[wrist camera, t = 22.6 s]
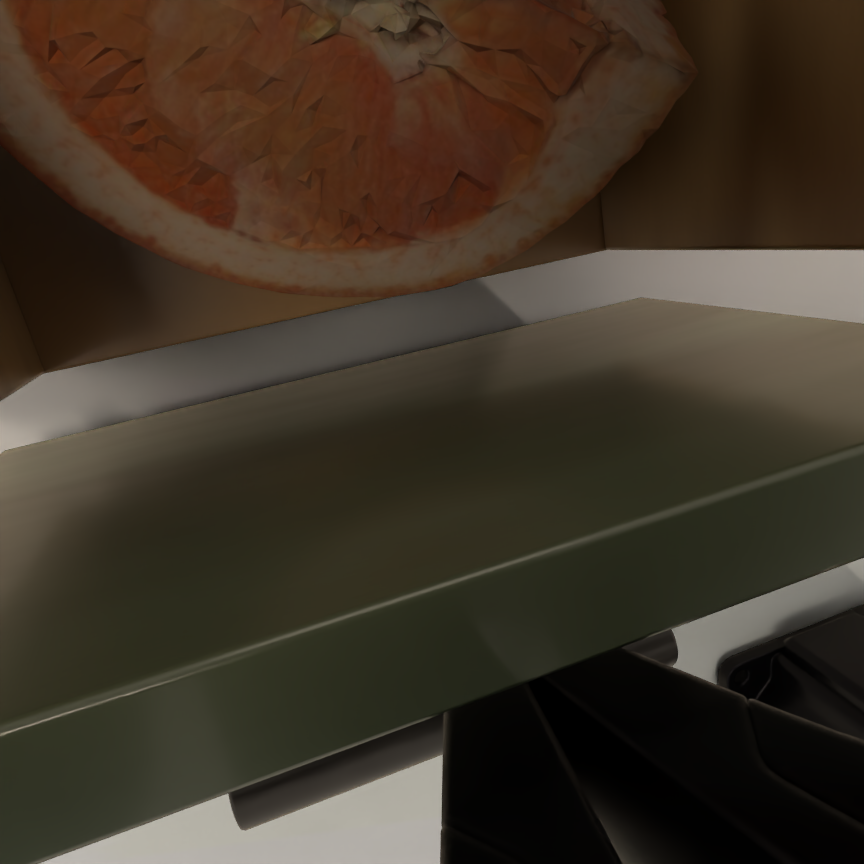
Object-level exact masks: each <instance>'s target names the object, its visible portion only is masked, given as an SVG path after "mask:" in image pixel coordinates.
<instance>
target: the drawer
mask: <svg viewBox="0 0 864 864" xmlns="http://www.w3.org/2000/svg"><path fill="white" fill-rule="evenodd" d="M661 2H662V4H663V6H664V7H665V9H666V11H667V13H666V14H665V16H664V18H665V19H667V20H668V21H669V22H670V23H671V25H672V26H673V27H674V29H675V30H676V33H677V37H678V39H679V41H680V42H681V44H682V46H683V47H684V48H685V50H686V51H687V52H688V53H689V55H690V56H691V57H692V59H693V62H694V64H695V67H696V69H697V71H698V74H697V76H696V77H695V78H694V80H693V81H692V83H691V84H690V85H689V87H688V88H687V90H686V91H685V92H684V93H683V94H682V95H681V96H680V97H679V98H678V99H677V100H676V101H675V103H674V105H673V106H672V108H671V109H670V111H669V113H668V114H667V116H666V117H665V119H664V121H663V122H662V124H661V126H660V127H659V129H658V130H657V131H655V132H654V133H653V134H652V135H651V136H650V137H649V138H648V139H647V140H646V141H645V143H644V144H643V146H642V147H641V149H640V151H639V152H638V153H637V154H635V155H634V156H633V157H632V158H631V159H629V160H628V161H627V162H626V163H625V164H623V165H622V166H621V167H620V168H619V169H618V170H617V172H616V173H615V174H614V176H613V177H612V178H611V180H610V181H609V182H608V183H607V185H606V186H605V187H604V188H603V189H602V190H601V191H600V192H599V193H598V194H597V195H596V196H595V197H594V198H592V199H591V200H590V201H589V202H587V203H586V204H585V205H583V206H582V207H581V208H580V209H579V210H578V211H577V212H576V213H575V214H574V215H573V216H571V217H570V218H569V219H568V220H567V221H566V222H565V223H563V224H562V225H560V226H559V227H557V228H556V229H554V230H553V231H551V232H550V233H548V234H547V235H545V236H544V237H543V238H542V239H541V240H540V241H538V242H537V243H536V244H534V245H533V246H532V247H530V248H529V249H527V250H526V251H524V252H523V253H521V254H519V255H517V256H516V257H514V258H512V259H510V260H508V261H506V262H504V263H502V264H500V265H498V266H496V267H494V268H493V269H491V270H490V271H488V272H487V273H485V274H484V275H482V276H479V277H476V278H473V279H477V278H481V277H486V276H490V275H495V274H499V273H504V272H509V271H513V270H518V269H522V268H527V267H531V266H536V265H540V264H545V263H550V262H554V261H559V260H563V259H568V258H572V257H577V256H581V255H586V254H591V253H595V252H600V251H604V250H864V0H661ZM470 280H472V279H470ZM467 281H468V280H467ZM392 297H395V296H392ZM386 298H390V297H322V296H310V295H299V294H288V293H279V292H275V291H270V290H265V289H260V288H256V287H251V286H246V285H241V284H237V283H233V282H230V281H226V280H223V279H219V278H216V277H213V276H210V275H207V274H203V273H200V272H197V271H194V270H191V269H188V268H185V267H182V266H180V265H178V264H175V263H173V262H171V261H169V260H166V259H164V258H163V257H161V256H159V255H157V254H155V253H153V252H152V251H150V250H148V249H146V248H144V247H142V246H140V245H138V244H136V243H134V242H132V241H130V240H128V239H126V238H124V237H122V236H119V235H117V234H116V233H114V232H112V231H111V230H109V229H107V228H106V227H104V226H103V225H101V224H99V223H98V222H96V221H94V220H93V219H91V218H90V217H88V216H86V215H85V214H83V213H82V212H80V211H78V210H77V209H75V208H74V207H72V206H71V205H70V204H68V203H67V202H66V201H65V200H64V199H62V198H61V197H60V196H59V195H58V194H56V193H55V192H54V191H53V190H52V189H50V188H49V187H48V186H47V185H46V184H44V183H43V182H42V181H41V180H40V179H38V178H37V177H36V176H35V175H34V174H32V173H31V172H30V171H29V170H28V169H27V168H25V167H24V166H23V165H22V164H21V163H19V162H18V161H17V160H16V159H15V158H14V157H13V156H12V155H11V154H10V153H8V152H7V151H6V150H5V149H4V148H3V147H2V146H1V145H0V401H1V400H3V399H4V398H6V397H7V396H9V395H11V394H12V393H14V392H15V391H17V390H18V389H20V388H21V387H23V386H25V385H26V384H28V383H29V382H31V381H32V380H34V379H36V378H37V377H39V376H40V375H42V374H44V373H49V372H53V371H58V370H62V369H67V368H72V367H76V366H81V365H85V364H90V363H94V362H99V361H103V360H108V359H113V358H117V357H122V356H126V355H131V354H135V353H140V352H144V351H149V350H154V349H158V348H163V347H167V346H172V345H176V344H181V343H185V342H190V341H194V340H199V339H204V338H208V337H213V336H217V335H222V334H226V333H231V332H235V331H240V330H245V329H249V328H254V327H258V326H263V325H267V324H272V323H276V322H281V321H286V320H290V319H295V318H299V317H304V316H308V315H313V314H317V313H322V312H327V311H331V310H336V309H340V308H345V307H349V306H354V305H358V304H363V303H367V302H372V301H377V300H381V299H386ZM861 558H864V324H862V323H854V322H845V321H837V320H828V319H820V318H811V317H803V316H794V315H786V314H777V313H769V312H760V311H752V310H743V309H735V308H726V307H718V306H709V305H701V304H692V303H684V302H675V301H667V300H658V299H650V298H637V299H633V300H629V301H625V302H620V303H616V304H612V305H608V306H604V307H600V308H595V309H591V310H587V311H583V312H579V313H575V314H571V315H566V316H562V317H558V318H554V319H550V320H546V321H541V322H537V323H533V324H529V325H525V326H521V327H517V328H512V329H508V330H504V331H500V332H496V333H492V334H487V335H483V336H479V337H475V338H471V339H467V340H463V341H458V342H454V343H450V344H446V345H442V346H438V347H433V348H429V349H425V350H421V351H417V352H413V353H408V354H404V355H400V356H396V357H392V358H388V359H384V360H379V361H375V362H371V363H367V364H363V365H359V366H354V367H350V368H346V369H342V370H338V371H334V372H330V373H325V374H321V375H317V376H313V377H309V378H305V379H300V380H296V381H292V382H288V383H284V384H280V385H275V386H271V387H267V388H263V389H259V390H255V391H251V392H246V393H242V394H238V395H234V396H230V397H226V398H221V399H217V400H213V401H209V402H205V403H201V404H197V405H192V406H188V407H184V408H180V409H176V410H172V411H167V412H163V413H159V414H155V415H151V416H147V417H142V418H138V419H134V420H130V421H126V422H122V423H118V424H113V425H109V426H105V427H101V428H97V429H93V430H88V431H84V432H80V433H76V434H72V435H68V436H64V437H59V438H55V439H51V440H47V441H43V442H39V443H34V444H30V445H26V446H22V447H18V448H14V449H9V450H5V451H4V452H2V453H1V454H0V864H39V863H41V862H44V861H47V860H49V859H52V858H55V857H57V856H60V855H63V854H65V853H68V852H71V851H74V850H76V849H79V848H82V847H84V846H87V845H90V844H92V843H95V842H98V841H101V840H103V839H106V838H109V837H111V836H114V835H117V834H119V833H122V832H125V831H128V830H130V829H133V828H136V827H138V826H141V825H144V824H146V823H149V822H152V821H154V820H157V819H160V818H163V817H165V816H168V815H171V814H173V813H176V812H179V811H181V810H184V809H187V808H190V807H192V806H195V805H198V804H200V803H203V802H206V801H208V800H211V799H214V798H216V797H219V796H222V795H225V794H227V793H228V794H229V799H230V803H231V807H232V811H233V814H234V817H235V820H236V822H237V824H238V826H239V827H240V829H241V830H248V829H250V828H253V827H256V826H258V825H261V824H263V823H266V822H269V821H271V820H274V819H276V818H279V817H282V816H284V815H287V814H289V813H292V812H295V811H297V810H300V809H302V808H305V807H308V806H310V805H313V804H315V803H318V802H320V801H323V800H326V799H328V798H331V797H333V796H336V795H339V794H341V793H344V792H346V791H349V790H352V789H354V788H357V787H359V786H362V785H365V784H367V783H370V782H372V781H375V780H378V779H380V778H383V777H385V776H388V775H391V774H393V773H396V772H398V771H401V770H404V769H406V768H409V767H411V766H414V765H417V764H419V763H422V762H424V761H427V760H430V759H432V758H435V757H437V756H440V755H443V727H444V713H446V712H448V711H451V710H454V709H457V708H459V707H462V706H465V705H467V704H470V703H473V702H475V701H478V700H481V699H483V698H486V697H489V696H492V695H494V694H497V693H500V692H502V691H505V690H508V689H510V688H513V687H516V686H519V685H521V684H524V683H527V682H529V681H532V680H535V679H537V678H540V677H543V676H546V675H548V674H551V673H554V672H556V671H559V670H562V669H564V668H567V667H570V666H572V665H575V664H578V663H581V662H583V661H586V660H589V659H591V658H594V657H597V656H599V655H602V654H605V653H608V652H610V651H613V650H616V649H618V648H621V647H623V648H625V649H628V650H630V651H633V652H635V653H638V654H640V655H643V656H645V657H648V658H651V659H653V660H656V661H658V662H661V663H663V664H666V665H668V666H673V665H674V664H675V663H676V661H677V658H678V649H677V644H676V640H675V637H674V634H673V632H672V630H671V629H672V628H675V627H678V626H680V625H683V624H686V623H688V622H691V621H694V620H697V619H699V618H702V617H705V616H707V615H710V614H713V613H715V612H718V611H721V610H724V609H726V608H729V607H732V606H734V605H737V604H740V603H742V602H745V601H748V600H750V599H753V598H756V597H759V596H761V595H764V594H767V593H769V592H772V591H775V590H777V589H780V588H783V587H786V586H788V585H791V584H794V583H796V582H799V581H802V580H804V579H807V578H810V577H812V576H815V575H818V574H821V573H823V572H826V571H829V570H831V569H834V568H837V567H839V566H842V565H845V564H848V563H850V562H853V561H856V560H858V559H861Z"/></svg>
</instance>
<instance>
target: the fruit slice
mask: <svg viewBox="0 0 864 864" xmlns="http://www.w3.org/2000/svg"><path fill="white" fill-rule="evenodd" d="M666 13H667V11H666V9H665V7H664V6H663V4H662V2H661V0H0V145H1V146H2V147H3V148H4V149H5V150H6V151H7V152H8V153H10V154H11V155H12V156H13V157H14V158H15V159H16V160H17V161H18V162H19V163H21V164H22V165H23V166H24V167H25V168H27V169H28V170H29V171H30V172H31V173H32V174H34V175H35V176H36V177H37V178H38V179H40V180H41V181H42V182H43V183H44V184H46V185H47V186H48V187H49V188H50V189H52V190H53V191H54V192H55V193H56V194H58V195H59V196H60V197H61V198H62V199H64V200H65V201H66V202H67V203H68V204H70V205H71V206H72V207H74V208H75V209H77V210H78V211H80V212H82V213H83V214H85V215H86V216H88V217H90V218H91V219H93V220H94V221H96V222H98V223H99V224H101V225H103V226H104V227H106V228H107V229H109V230H111V231H112V232H114V233H116V234H117V235H119V236H122V237H124V238H126V239H128V240H130V241H132V242H134V243H136V244H138V245H140V246H142V247H144V248H146V249H148V250H150V251H152V252H153V253H155V254H157V255H159V256H161V257H163V258H164V259H166V260H169V261H171V262H173V263H175V264H178V265H180V266H182V267H185V268H188V269H191V270H194V271H197V272H200V273H203V274H207V275H210V276H213V277H216V278H219V279H223V280H226V281H230V282H233V283H237V284H241V285H246V286H251V287H256V288H260V289H265V290H270V291H275V292H279V293H288V294H299V295H310V296H322V297H392V296H399V295H406V294H413V293H419V292H426V291H431V290H436V289H440V288H445V287H449V286H453V285H456V284H458V283H461V282H464V281H467V280H470V279H473V278H476V277H479V276H482V275H484V274H485V273H487V272H488V271H490V270H491V269H493V268H494V267H496V266H498V265H500V264H502V263H504V262H506V261H508V260H510V259H512V258H514V257H516V256H517V255H519V254H521V253H523V252H524V251H526V250H527V249H529V248H530V247H532V246H533V245H534V244H536V243H537V242H538V241H540V240H541V239H542V238H543V237H544V236H545V235H547V234H548V233H550V232H551V231H553V230H554V229H556V228H557V227H559V226H560V225H562V224H563V223H565V222H566V221H567V220H568V219H569V218H570V217H571V216H573V215H574V214H575V213H576V212H577V211H578V210H579V209H580V208H581V207H582V206H583V205H585V204H586V203H587V202H589V201H590V200H591V199H592V198H594V197H595V196H596V195H597V194H598V193H599V192H600V191H601V190H602V189H603V188H604V187H605V186H606V185H607V183H608V182H609V181H610V180H611V178H612V177H613V176H614V174H615V173H616V172H617V170H618V169H619V168H620V167H621V166H622V165H623V164H625V163H626V162H627V161H628V160H629V159H631V158H632V157H633V156H634V155H635V154H637V153H638V152H639V151H640V149H641V147H642V146H643V144H644V143H645V141H646V140H647V139H648V138H649V137H650V136H651V135H652V134H653V133H654V132H655V131H657V130H658V129H659V127H660V126H661V124H662V122H663V121H664V119H665V117H666V116H667V114H668V113H669V111H670V109H671V108H672V106H673V105H674V103H675V101H676V100H677V99H678V98H679V97H680V96H681V95H682V94H683V93H684V92H685V91H686V90H687V88H688V87H689V85H690V84H691V83H692V81H693V80H694V78H695V77H696V76H697V74H698V71H697V69H696V67H695V64H694V62H693V59H692V57H691V56H690V55H689V53H688V52H687V51H686V50H685V48H684V47H683V46H682V44H681V42H680V41H679V39H678V37H677V33H676V30H675V29H674V27H673V26H672V25H671V23H670V22H669V21H668V20H667V19H665V18H664V16H665V14H666Z"/></svg>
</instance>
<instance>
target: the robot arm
mask: <svg viewBox="0 0 864 864" xmlns="http://www.w3.org/2000/svg"><path fill="white" fill-rule="evenodd" d="M718 681H719V686H718V685H716V684H713V683H711V682H708V681H706V680H703V679H701V678H698V677H696V676H693V675H691V674H688V673H686V672H683V671H681V670H678V669H676V668H673V667H671V666H668V665H666V664H663V663H661V662H658V661H656V660H653V659H651V658H648V657H645V656H643V655H640V654H638V653H635V652H633V651H630V650H628V649H625V648H623V647H621V648H618V649H616V650H613V651H610V652H608V653H605V654H602V655H599V656H597V657H594V658H591V659H589V660H586V661H583V662H581V663H578V664H575V665H572V666H570V667H567V668H564V669H562V670H559V671H556V672H554V673H551V674H548V675H546V676H543V677H540V678H537V679H535V680H532V681H529V682H527V683H524V684H521V685H519V686H516V687H513V688H510V689H508V690H505V691H502V692H500V693H497V694H494V695H492V696H489V697H486V698H483V699H481V700H478V701H475V702H473V703H470V704H467V705H465V706H462V707H459V708H457V709H454V710H451V711H448V712H446V713H444V727H443V777H442V830H441V852H440V864H864V605H861V606H858V607H856V608H853V609H851V610H848V611H846V612H843V613H841V614H838V615H835V616H833V617H830V618H828V619H825V620H823V621H820V622H817V623H815V624H812V625H810V626H807V627H805V628H802V629H800V630H797V631H794V632H792V633H789V634H787V635H784V636H782V637H779V638H776V639H774V640H771V641H769V642H766V643H764V644H761V645H759V646H756V647H753V648H751V649H748V650H746V651H743V652H741V653H738V654H735V655H733V656H731V657H729V658H727V659H726V660H725V661H724V662H723V663H722V665H721V667H720V669H719V673H718Z"/></svg>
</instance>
